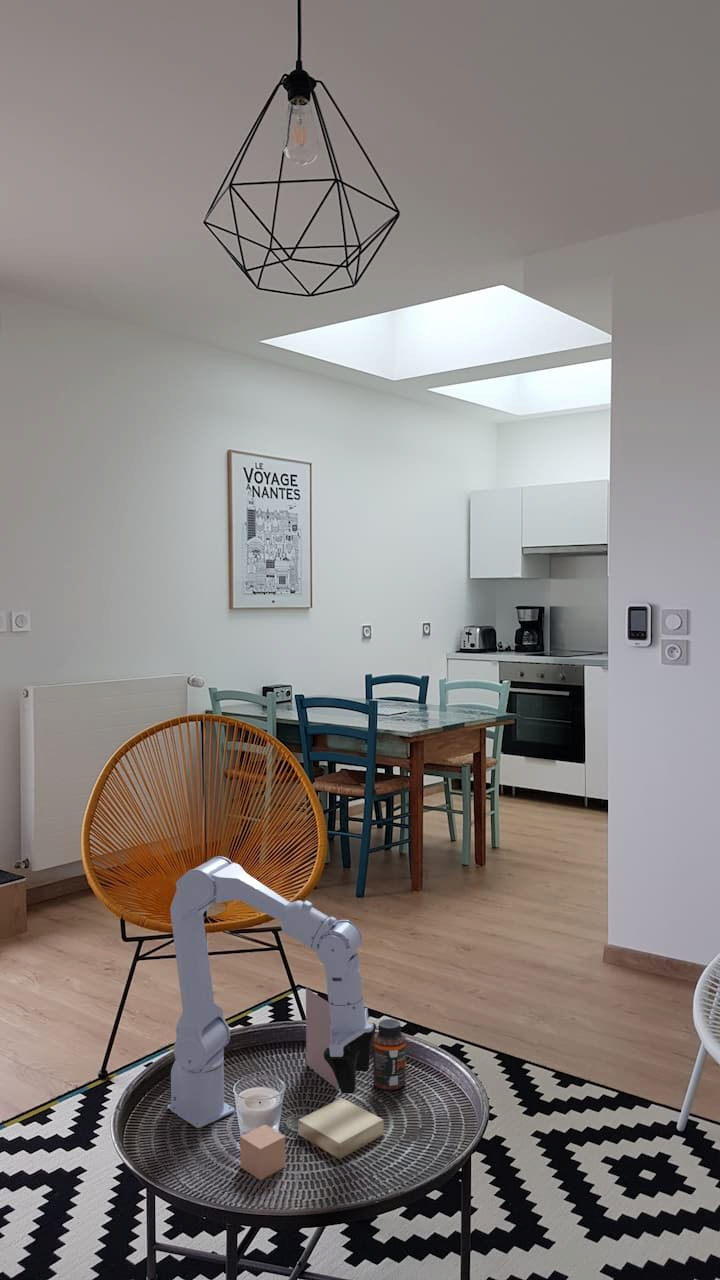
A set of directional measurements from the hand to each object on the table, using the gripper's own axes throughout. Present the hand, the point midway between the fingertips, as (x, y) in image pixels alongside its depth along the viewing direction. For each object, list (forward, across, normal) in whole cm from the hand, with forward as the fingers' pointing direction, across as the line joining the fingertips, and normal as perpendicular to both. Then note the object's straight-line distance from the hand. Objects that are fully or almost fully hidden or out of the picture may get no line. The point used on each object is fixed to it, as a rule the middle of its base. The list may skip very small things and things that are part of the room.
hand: (355, 1081), depth 163 cm
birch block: (+10, +2, +4) cm, 11 cm away
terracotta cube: (+9, -11, +13) cm, 19 cm away
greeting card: (+9, +20, +14) cm, 26 cm away
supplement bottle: (+10, +20, +1) cm, 23 cm away
